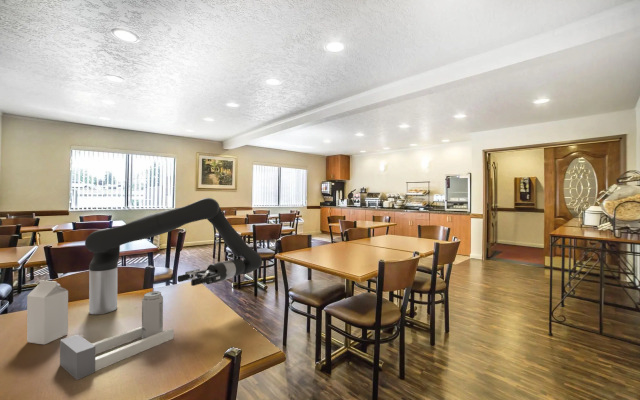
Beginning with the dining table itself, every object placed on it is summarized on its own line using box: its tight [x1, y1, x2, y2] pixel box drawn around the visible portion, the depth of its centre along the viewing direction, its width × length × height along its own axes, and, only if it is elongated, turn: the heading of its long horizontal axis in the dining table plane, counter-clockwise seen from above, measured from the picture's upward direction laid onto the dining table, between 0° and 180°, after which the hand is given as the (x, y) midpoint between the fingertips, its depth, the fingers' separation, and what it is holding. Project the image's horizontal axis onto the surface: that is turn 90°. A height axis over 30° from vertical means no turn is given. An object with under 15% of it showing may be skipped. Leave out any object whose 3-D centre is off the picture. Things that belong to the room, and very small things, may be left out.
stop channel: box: [59, 325, 175, 381], centre depth 88 cm, size 12×26×7 cm, turn 147°
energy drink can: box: [141, 290, 164, 340], centre depth 96 cm, size 6×6×15 cm
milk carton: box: [26, 279, 69, 345], centre depth 95 cm, size 7×7×19 cm
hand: (184, 281), depth 105 cm, fingers open, 8 cm apart
